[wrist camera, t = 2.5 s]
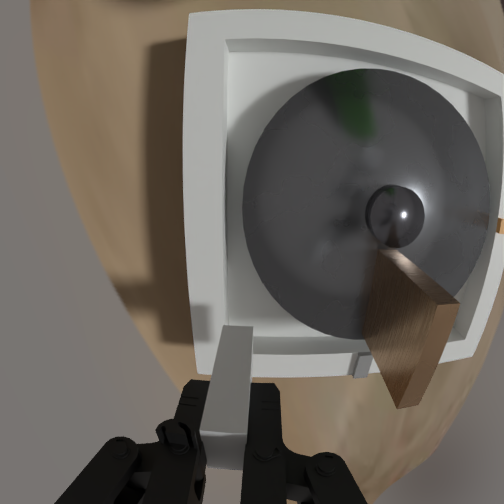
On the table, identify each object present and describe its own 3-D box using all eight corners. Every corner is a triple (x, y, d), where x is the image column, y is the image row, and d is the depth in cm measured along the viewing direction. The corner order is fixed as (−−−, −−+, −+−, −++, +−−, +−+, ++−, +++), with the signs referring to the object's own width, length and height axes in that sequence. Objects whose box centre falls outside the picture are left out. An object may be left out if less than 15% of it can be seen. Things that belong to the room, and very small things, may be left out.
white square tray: (201, 36, 14) (187, 10, 11) (486, 85, 14) (517, 79, 10) (206, 343, 21) (196, 377, 18) (454, 334, 21) (474, 358, 17)
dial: (246, 64, 13) (230, -12, 6) (478, 107, 13) (564, 102, 5) (243, 326, 18) (232, 425, 11) (450, 318, 18) (506, 383, 10)
